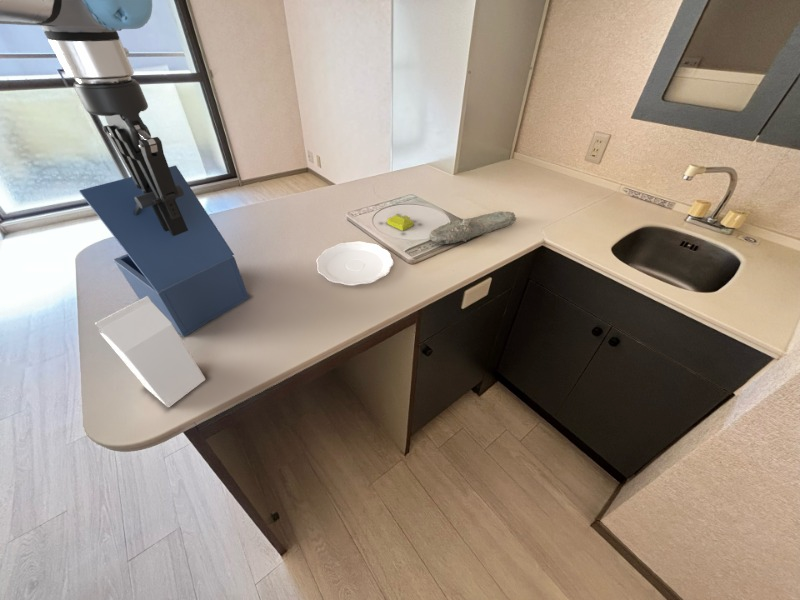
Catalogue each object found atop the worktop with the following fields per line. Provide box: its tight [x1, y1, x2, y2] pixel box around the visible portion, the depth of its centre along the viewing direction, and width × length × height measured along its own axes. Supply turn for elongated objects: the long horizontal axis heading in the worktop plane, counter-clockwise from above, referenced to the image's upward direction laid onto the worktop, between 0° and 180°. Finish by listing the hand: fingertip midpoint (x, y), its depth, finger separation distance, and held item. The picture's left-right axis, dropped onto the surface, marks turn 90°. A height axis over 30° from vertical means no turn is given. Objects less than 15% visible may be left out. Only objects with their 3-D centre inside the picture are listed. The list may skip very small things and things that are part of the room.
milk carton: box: [95, 296, 206, 408], centre depth 54 cm, size 7×7×19 cm
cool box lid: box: [78, 165, 235, 292], centre depth 60 cm, size 20×16×9 cm
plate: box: [315, 240, 394, 286], centre depth 90 cm, size 21×21×2 cm
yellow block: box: [386, 214, 419, 231], centre depth 109 cm, size 10×9×3 cm
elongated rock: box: [429, 210, 517, 245], centre depth 106 cm, size 35×5×10 cm
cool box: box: [112, 253, 250, 338], centre depth 74 cm, size 19×16×12 cm
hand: (176, 230), depth 60 cm, fingers closed on cool box lid, 2 cm apart
